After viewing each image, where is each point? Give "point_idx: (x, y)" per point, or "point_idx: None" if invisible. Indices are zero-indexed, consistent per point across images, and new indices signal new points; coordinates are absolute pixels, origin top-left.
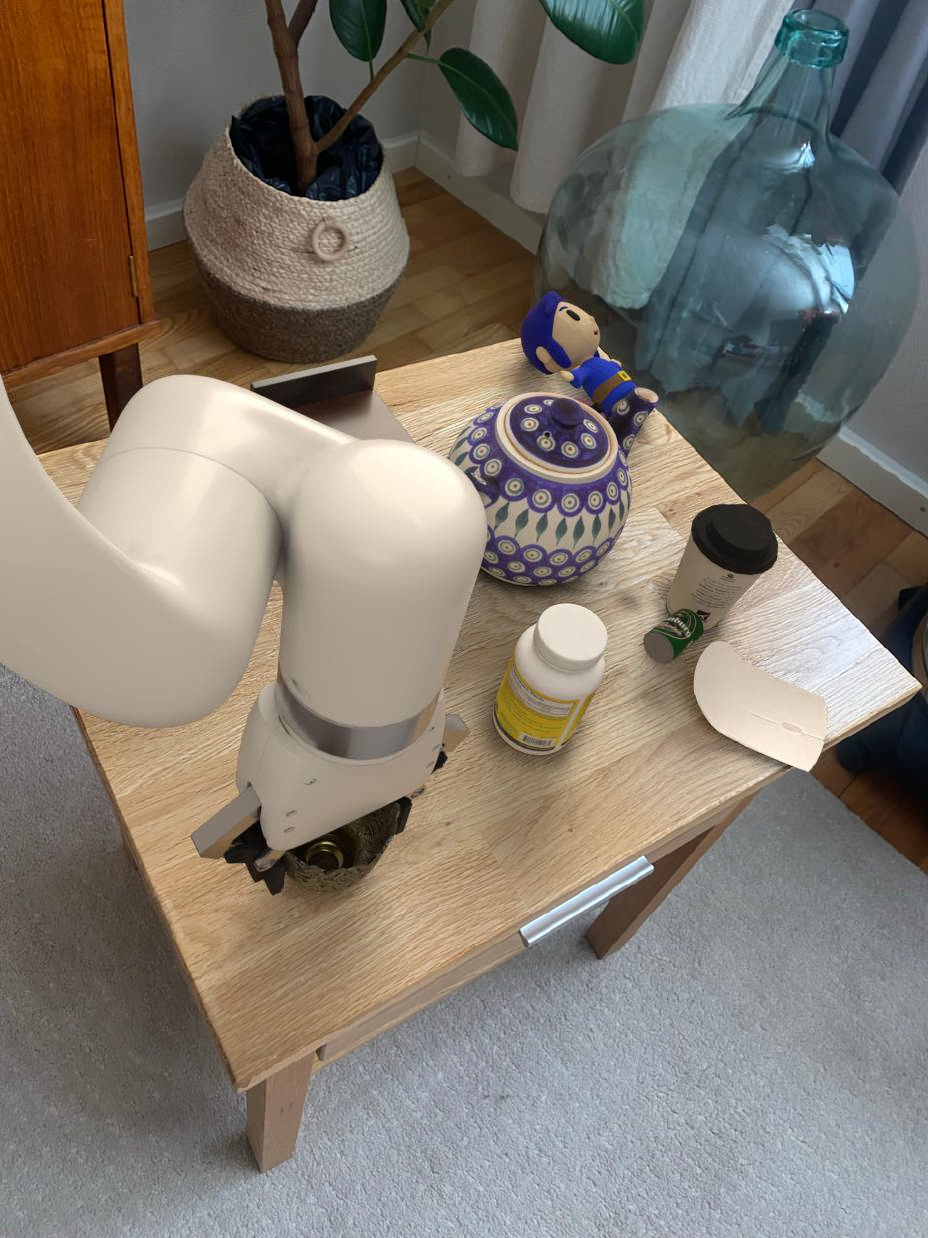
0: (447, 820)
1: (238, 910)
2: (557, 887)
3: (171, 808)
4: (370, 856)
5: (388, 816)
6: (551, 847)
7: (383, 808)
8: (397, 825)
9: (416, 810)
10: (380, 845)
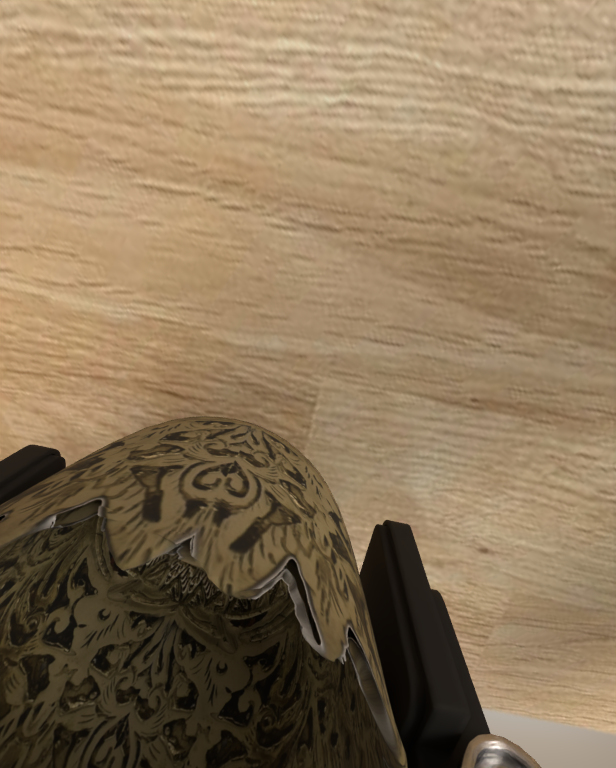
0: (488, 546)
1: (70, 435)
2: (520, 712)
3: (39, 159)
4: (283, 593)
5: (327, 735)
6: (576, 676)
7: (343, 684)
8: None
9: (461, 498)
10: (290, 657)
